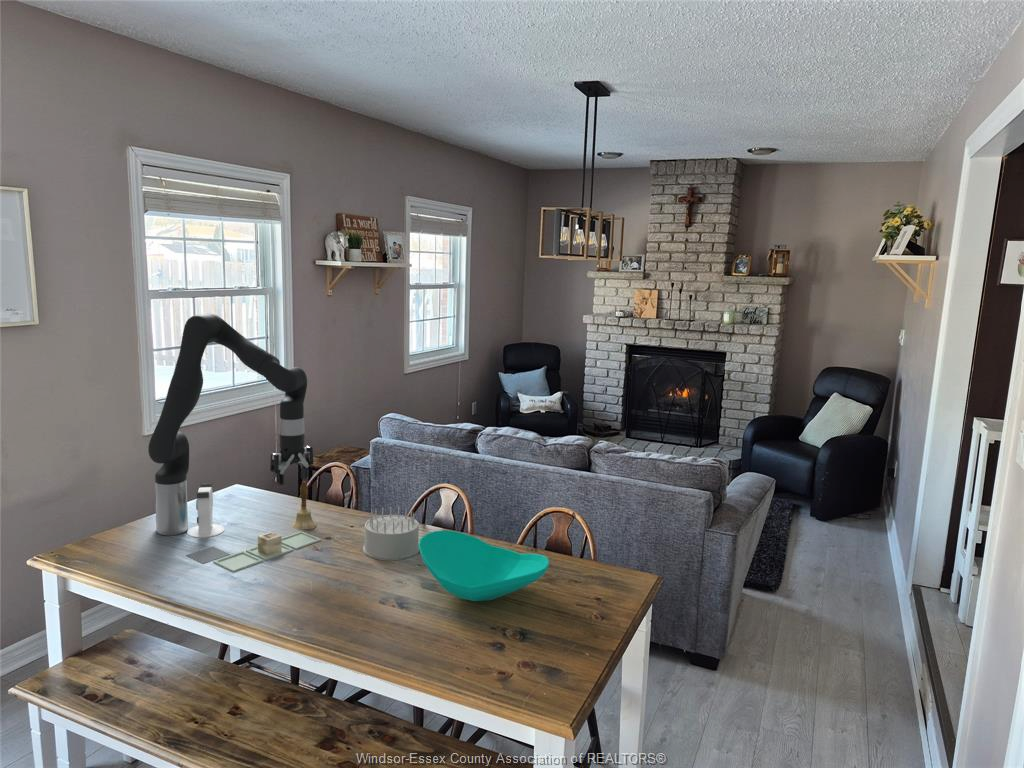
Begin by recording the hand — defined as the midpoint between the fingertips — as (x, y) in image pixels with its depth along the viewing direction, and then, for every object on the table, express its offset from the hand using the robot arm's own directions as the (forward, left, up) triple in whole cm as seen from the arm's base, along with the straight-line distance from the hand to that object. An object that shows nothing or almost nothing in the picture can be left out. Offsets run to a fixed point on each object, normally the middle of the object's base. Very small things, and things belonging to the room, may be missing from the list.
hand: (292, 481), depth 223 cm
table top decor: (+66, +13, -22) cm, 71 cm away
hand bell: (-11, +13, -22) cm, 28 cm away
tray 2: (-1, -8, -21) cm, 23 cm away
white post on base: (-31, -11, -22) cm, 40 cm away
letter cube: (-1, -8, -21) cm, 22 cm away
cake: (+25, +19, -22) cm, 38 cm away
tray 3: (-1, +3, -22) cm, 22 cm away
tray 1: (-1, -19, -22) cm, 28 cm away
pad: (-12, -22, -22) cm, 33 cm away
